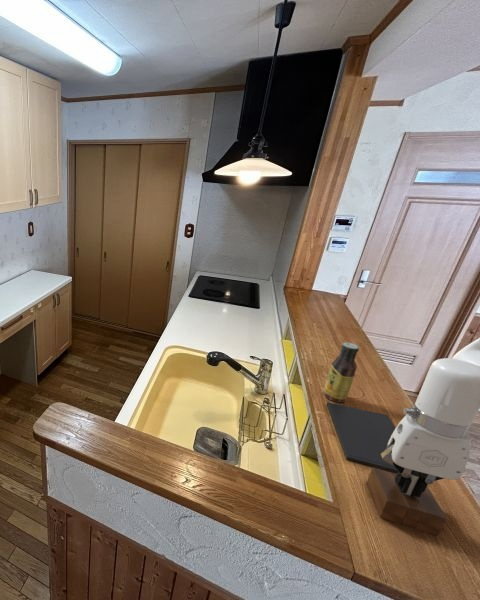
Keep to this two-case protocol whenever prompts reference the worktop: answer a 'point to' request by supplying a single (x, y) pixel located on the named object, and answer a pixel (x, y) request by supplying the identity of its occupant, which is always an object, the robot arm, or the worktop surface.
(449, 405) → the robot arm
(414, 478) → the white thin cylinder
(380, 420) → the plate
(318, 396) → the worktop surface
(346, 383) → the sauce bottle
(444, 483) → the worktop surface
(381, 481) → the pen stand
